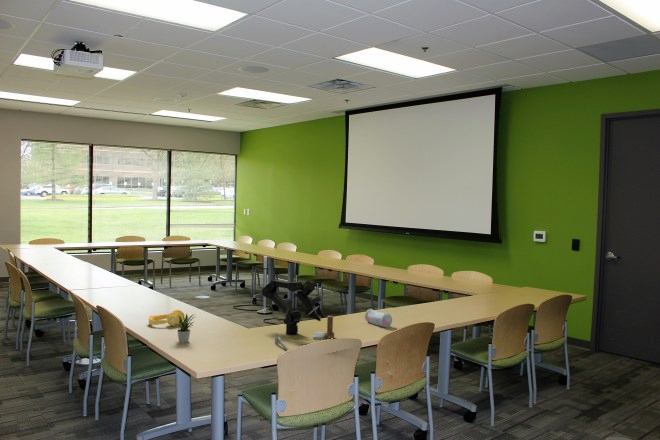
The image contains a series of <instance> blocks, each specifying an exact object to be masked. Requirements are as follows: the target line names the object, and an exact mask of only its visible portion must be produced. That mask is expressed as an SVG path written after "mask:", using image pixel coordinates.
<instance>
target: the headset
mask: <svg viewBox="0 0 660 440" xmlns="http://www.w3.org/2000/svg"><path fill="white" fill-rule="evenodd" d="M182 314H183V315H184V316H185V314H184V311H183V310H181V309H175V310H173V311H172V312H170V313H168V314H158V315H157V314H156V315H151V316H150V315H149V316H148V325H149V326H156V325H157V326H158V325H165V324H167V325H169V326H170V327H175V326H176V324H179V317H178V315H179V316H180V317H181V318H182V321H184V319H183V315H182ZM173 317H174V318H173ZM177 320H178V321H177ZM174 323H176V324H174ZM179 325H180V324H179Z"/></svg>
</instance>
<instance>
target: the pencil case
mask: <svg viewBox="0 0 660 440" xmlns="http://www.w3.org/2000/svg"><path fill="white" fill-rule="evenodd" d="M364 320H365V322H367V323H369V324H373V325H374V326H378V327H383V328H390V326H391V325H392V322H393V317H392V315H391V314H389V313H386V312H380V311H377V310H374V309H373V308H368V309H367V310H366V312H365V315H364Z"/></svg>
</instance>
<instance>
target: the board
mask: <svg viewBox="0 0 660 440" xmlns="http://www.w3.org/2000/svg"><path fill="white" fill-rule="evenodd" d="M325 334H326V331H315V332H314V334H313V337H312V338H313V339H312V340H324V339H325Z"/></svg>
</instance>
